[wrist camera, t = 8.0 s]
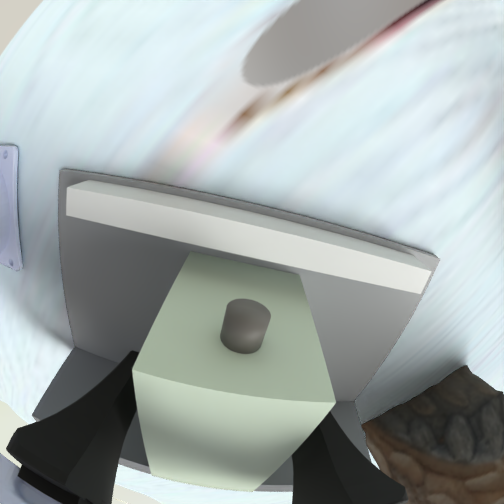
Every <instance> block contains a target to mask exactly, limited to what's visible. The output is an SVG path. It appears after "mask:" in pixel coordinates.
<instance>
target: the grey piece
mask: <svg viewBox="0 0 504 504" xmlns="http://www.w3.org/2000/svg"><path fill="white" fill-rule="evenodd" d="M58 226H59V248H60V261H61V271H62V279H63V287H64V294H65V300H66V306H67V312H68V317H69V322H70V327H71V332H72V336H73V341H74V345H75V347H74V349H73V350H72V351H71V353H70V354H69V356H68V357H67V359H66V360H65V362H64V363H63V365H62V366H61V368H60V369H59V371H58V372H57V374H56V376H55V377H54V379H53V380H52V382H51V384H50V385H49V387H48V388H47V390H46V392H45V393H44V395H43V397H42V398H41V400H40V402H39V403H38V405H37V407H36V409H35V410H34V412H33V414H32V416H33V417H34V419H35V420H36V422H38V421H40V420H42V419H44V418H47V417H49V416H51V415H53V414H55V413H57V412H59V411H61V410H62V409H64V408H66V407H67V406H69V405H71V404H72V403H74V402H75V401H77V400H78V399H79V398H81V397H82V396H84V395H85V394H86V393H87V392H89V391H90V390H91V389H92V388H94V387H95V386H96V385H97V384H98V383H99V382H101V381H102V380H103V379H104V378H105V377H106V376H107V375H108V374H109V373H110V372H111V371H112V370H113V369H114V368H115V367H116V366H117V365H118V364H119V363H120V362H121V361H122V360H123V359H124V358H125V357H126V356H127V355H128V353H129V352H130V351H132V350H133V351H136V352H139V353H140V351H141V349H142V347H143V344H144V342H145V340H146V338H147V336H148V334H149V332H150V330H151V327H152V325H153V323H154V321H155V319H156V317H157V315H158V313H159V311H160V309H161V307H162V305H163V303H164V301H165V299H166V297H167V295H168V293H169V291H170V289H171V287H172V285H173V283H174V281H175V279H176V278H177V276H178V274H179V272H180V270H181V268H182V266H183V264H184V262H185V261H186V259H187V257H188V255H189V253H190V251H192V252H196V253H201V254H205V255H210V256H214V257H219V258H223V259H228V260H232V261H237V262H241V263H246V264H251V265H255V266H260V267H265V268H269V269H274V270H279V271H283V272H288V273H293V274H298V275H300V278H301V281H302V284H303V288H304V291H305V294H306V297H307V301H308V304H309V307H310V310H311V314H312V317H313V321H314V324H315V327H316V331H317V334H318V338H319V341H320V345H321V348H322V352H323V355H324V359H325V363H326V366H327V370H328V374H329V377H330V381H331V385H332V389H333V392H334V396H335V400H336V403H335V405H334V406H333V407H332V409H331V410H330V411H331V413H332V415H333V416H334V418H335V419H336V421H337V422H338V424H339V426H340V427H341V428H342V430H343V431H344V433H345V434H346V435H347V437H348V438H349V439H350V441H351V442H352V443H353V444H354V445H355V447H356V448H357V449H358V450H359V451H360V452H361V453H362V454H363V455H364V456H365V457H366V458H367V459H368V460H369V461H370V462H371V459H370V455H369V452H368V448H367V444H366V441H365V437H364V434H363V430H362V427H361V423H360V420H359V417H358V413H357V410H356V407H355V403H354V401H355V399H356V398H357V397H358V396H359V394H360V393H361V392H362V391H363V389H364V388H365V387H366V385H367V384H368V383H369V381H370V380H371V379H372V377H373V376H374V375H375V373H376V372H377V370H378V369H379V367H380V366H381V365H382V363H383V362H384V360H385V359H386V357H387V356H388V354H389V353H390V351H391V350H392V348H393V347H394V345H395V343H396V342H397V340H398V339H399V337H400V335H401V334H402V332H403V331H404V329H405V327H406V325H407V324H408V322H409V320H410V319H411V317H412V315H413V313H414V311H415V310H416V308H417V306H418V304H419V302H420V300H421V298H422V296H423V295H424V293H425V291H426V289H427V287H428V285H429V283H430V280H431V278H432V276H433V274H434V272H435V270H436V268H437V265H438V263H439V261H440V259H439V258H438V257H437V256H436V255H433V254H430V253H427V252H424V251H421V250H418V249H415V248H412V247H409V246H406V245H402V244H399V243H396V242H393V241H390V240H386V239H383V238H380V237H377V236H373V235H370V234H367V233H363V232H360V231H356V230H353V229H349V228H346V227H342V226H339V225H335V224H332V223H328V222H324V221H321V220H317V219H313V218H310V217H306V216H302V215H298V214H294V213H290V212H286V211H282V210H278V209H274V208H270V207H266V206H262V205H258V204H253V203H249V202H245V201H240V200H236V199H232V198H227V197H223V196H218V195H213V194H209V193H204V192H199V191H194V190H189V189H184V188H179V187H174V186H169V185H164V184H158V183H153V182H147V181H142V180H136V179H130V178H124V177H118V176H112V175H105V174H99V173H92V172H85V171H78V170H70V169H63V170H60V174H59V195H58ZM118 464H120V465H123V466H126V467H129V468H132V469H135V470H139V471H142V472H145V473H149V474H151V471H150V467H149V463H148V459H147V455H146V451H145V446H144V442H143V437H142V432H141V427H140V421H139V416H138V410H136V413H135V415H134V417H133V420H132V422H131V425H130V427H129V429H128V432H127V434H126V437H125V440H124V443H123V447H122V450H121V454H120V458H119V463H118ZM254 491H270V492H288V491H293V461H292V455H291V456H290V457H289V458H288V459H287V460H286V461H285V462H284V463H283V464H282V465H281V466H280V467H279V468H278V469H277V470H276V471H275V472H274V473H273V474H272V475H271V476H270V477H269V478H268V479H267V480H265V481H264V482H263V483H262V484H261V485H260V486H259V487H258V488H257V489H255V490H254Z"/></svg>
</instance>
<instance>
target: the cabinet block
mask: <svg viewBox="0 0 504 504" xmlns="http://www.w3.org/2000/svg"><path fill="white" fill-rule="evenodd" d="M132 373H133V382H134V390H135V397H136V404H137V410H138V416H139V421H140V427H141V432H142V437H143V442H144V446H145V451H146V455H147V459H148V463H149V467H150V471H151V475H152V476H156V477H159V478H163V479H167V480H172V481H176V482H181V483H186V484H191V485H197V486H203V487H209V488H216V489H224V490H234V491H247V492H253V491H254V490H255V489H257V488H258V487H259V486H260V485H261V484H262V483H263V482H264V481H265V480H267V479H268V478H269V477H270V476H271V475H272V474H273V473H274V472H275V471H276V470H277V469H278V468H279V467H280V466H281V465H282V464H283V463H284V462H285V461H286V460H287V459H288V458H289V457H290V456H291V455H292V454H293V453H294V452H295V451H296V450H297V449H298V447H299V446H300V445H301V444H302V443H303V442H304V441H305V440H306V439H307V437H308V436H309V435H310V434H311V433H312V432H313V431H314V429H315V428H316V427H317V426H318V425H319V423H320V422H321V421H322V420H323V419H324V417H325V416H326V415H327V414H328V412H329V411H330V410H331V409H332V407H333V406H334V405H335V403H336V400H335V396H334V392H333V389H332V385H331V381H330V377H329V374H328V370H327V366H326V363H325V359H324V355H323V352H322V348H321V345H320V341H319V338H318V334H317V331H316V327H315V324H314V321H313V317H312V314H311V310H310V307H309V304H308V301H307V297H306V294H305V291H304V288H303V284H302V281H301V278H300V275H298V274H293V273H288V272H283V271H279V270H274V269H269V268H265V267H260V266H255V265H251V264H246V263H241V262H237V261H232V260H228V259H223V258H219V257H214V256H210V255H205V254H201V253H196V252H192V251H190V253H189V255H188V257H187V259H186V261H185V262H184V264H183V266H182V268H181V270H180V272H179V274H178V276H177V278H176V279H175V281H174V283H173V285H172V287H171V289H170V291H169V293H168V295H167V297H166V299H165V301H164V303H163V305H162V307H161V309H160V311H159V313H158V315H157V317H156V319H155V321H154V323H153V325H152V327H151V330H150V332H149V334H148V336H147V338H146V340H145V342H144V344H143V347H142V349H141V351H140V353H139V355H138V357H137V360H136V362H135V364H134V366H133V368H132Z"/></svg>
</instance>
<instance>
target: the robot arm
mask: <svg viewBox="0 0 504 504" xmlns="http://www.w3.org/2000/svg"><path fill="white" fill-rule="evenodd" d="M17 168H18V148H17V147H16V146H12V145H0V263H1V264H3V265H5V266H7V267H9V268H11V269H14V270H16V271H19V270H21V269H22V267H23V262H22V255H21V248H20V239H19V228H18V212H17ZM138 355H139V352H136V351H133V350H132V351H130V352H129V353H128V355H127V356H126V357H125V358H124V359H123V360H122V361H121V362H120V363H119V364H118V365H117V366H116V367H115V368H114V369H113V370H112V371H111V372H110V373H109V374H108V375H107V376H106V377H105V378H104V379H103V380H102V381H101V382H99V383H98V384H97V385H96V386H95V387H94V388H92V389H91V390H90V391H89V392H87V393H86V394H85V395H84V396H82V397H81V398H79V399H78V400H77V401H75V402H74V403H72V404H71V405H69V406H67V407H66V408H64V409H62V410H61V411H59V412H57V413H55V414H53V415H51V416H49V417H47V418H44V419H42V420H40V421H38V422H35V423H32V424H29V425H26V426H23V427H20V428H18V429H17V430H16V432H15V433H14V434H13V436H12V438H11V440H10V442H9V444H8V446H7V448H6V449H7V451H8V452H9V453H10V454H11V455H12V456H13V457H14V458H15V459H16V460H17V461H19V462H20V463H21V464H22V466H21V468H19V467H18V466H16V465H15V464H14V463H12V462H11V461H10V460H8V459H7V458H6V457H4V456H3V455H2V454H1V453H0V503H1V504H111V503H112V495H113V488H114V482H115V477H116V472H117V467H118V463H119V458H120V454H121V450H122V447H123V443H124V440H125V437H126V434H127V432H128V429H129V427H130V425H131V422H132V420H133V417H134V415H135V413H136V410H137V404H136V397H135V390H134V382H133V373H132V368H133V366H134V364H135V362H136V360H137V357H138ZM292 461H293V500H292V504H406V503H407V502H408V500H409V499H408V496H407V492H406V489H405V486H403V485H401V484H400V483H398V482H396V481H395V480H393V479H392V478H390V477H389V476H387V475H386V474H384V473H383V472H382V471H380V470H379V469H378V468H377V467H376V466H375V465H373V464H372V463H371V462H370V461H369V460H368V459H367V458H366V457H365V456H364V455H363V454H362V453H361V452H360V451H359V450H358V449H357V448H356V447H355V445H354V444H353V443H352V442H351V441H350V439H349V438H348V437H347V435H346V434H345V433H344V431H343V430H342V428H341V427H340V426H339V424H338V422H337V421H336V419H335V418H334V416H333V415H332V413H331V411H329V412H328V414H327V415H326V416H325V417H324V419H323V420H322V421H321V422H320V423H319V425H318V426H317V427H316V428H315V429H314V431H313V432H312V433H311V434H310V435H309V436H308V437H307V439H306V440H305V441H304V442H303V443H302V444H301V445H300V446H299V447H298V449H297V450H296V451H295V452H294V453H293V454H292Z"/></svg>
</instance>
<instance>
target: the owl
mask: <svg viewBox="0 0 504 504" xmlns="http://www.w3.org/2000/svg"><path fill="white" fill-rule="evenodd" d="M361 427H362V429H363V430H364V431H365V433H366V444H367V447H368V448H369V450H370V452H371V454H372V456H373V458H374V459H375V461H376V462H377V464H378V466H379V469H380V471H382V472H383V473H384V474H386V475H387V476H389V477H390V478H392V479H393V480H395V481H396V482H398V483H400V484H401V485H403V486H405V489H406V492H407V496H408V499H409V500H408V502H407V503H406V504H504V394H503V392H502V391H497V390H495V389H494V388H493V387H491V386H490V385H489V384H487V383H486V382H485V381H483V380H482V379H481V378H479V377H478V376H476V375H474V374H472V372H471V371H470V369H469V368H468V366H467V365H466V366H463V367H461V368H459V369H458V370H456V371H454V372H453V373H452V374H450V375H449V376H447V377H446V378H445V379H444V380H443V381H441V382H440V383H438V384H437V385H434V386H432V387H430V388H428V389H427V390H426V391H424V392H423V393H422V394H420V395H418V396H416V397H414V398H413V399H411V400H410V401H408V402H406V403H404V404H401V405H398V406H396V407H394V408H392V409H390V410H389V411H387V412H385V413H384V414H382V415H380V416H379V417H376V418H375V419H372V420H370V421H368V422H366V423H364V424H362V425H361Z"/></svg>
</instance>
